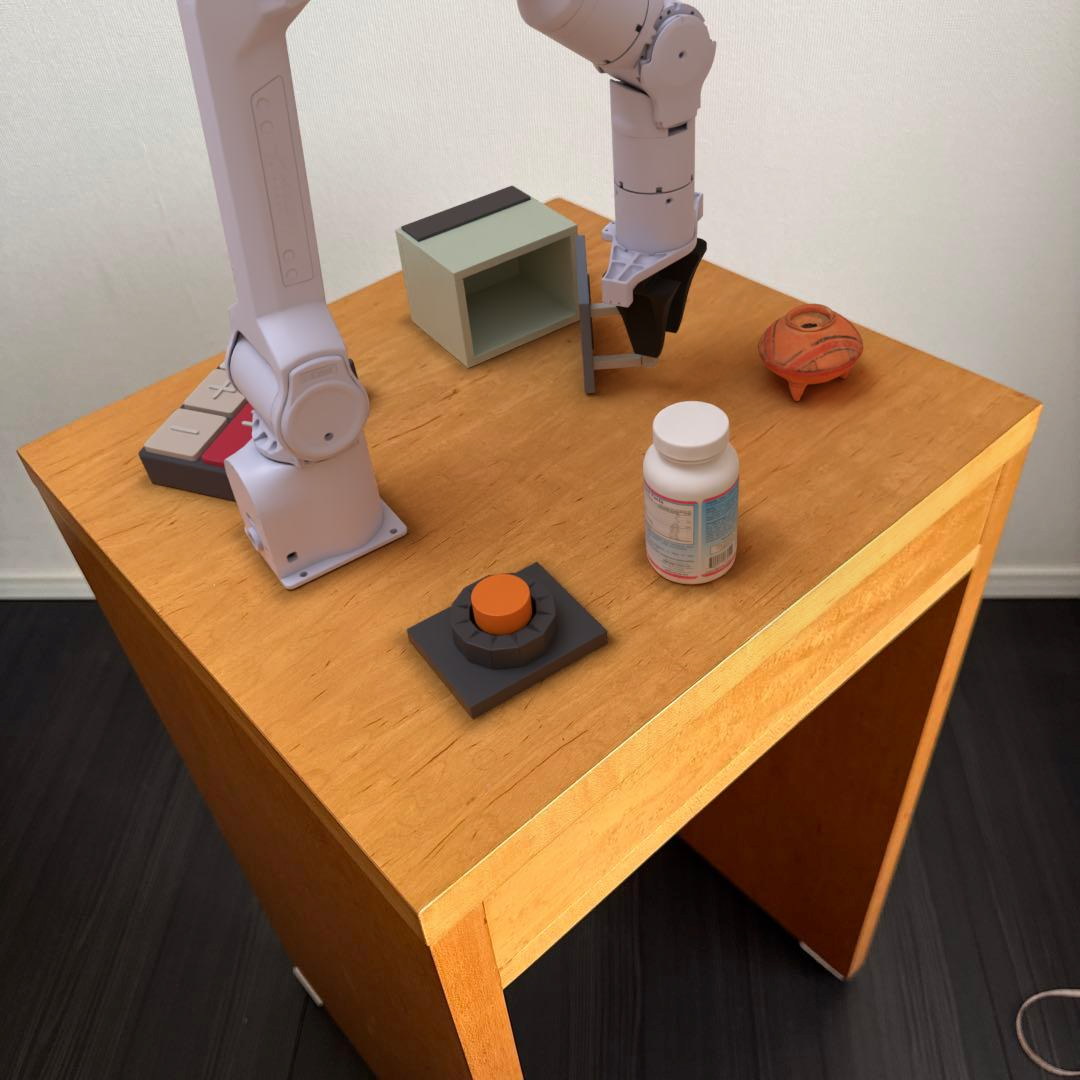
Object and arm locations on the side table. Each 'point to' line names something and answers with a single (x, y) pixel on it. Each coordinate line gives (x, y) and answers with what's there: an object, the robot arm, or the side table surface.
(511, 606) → the button
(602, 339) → the side table surface
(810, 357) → the pot
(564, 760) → the side table surface
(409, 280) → the washer
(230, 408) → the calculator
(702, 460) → the pill bottle
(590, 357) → the washer door
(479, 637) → the block
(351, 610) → the side table surface
